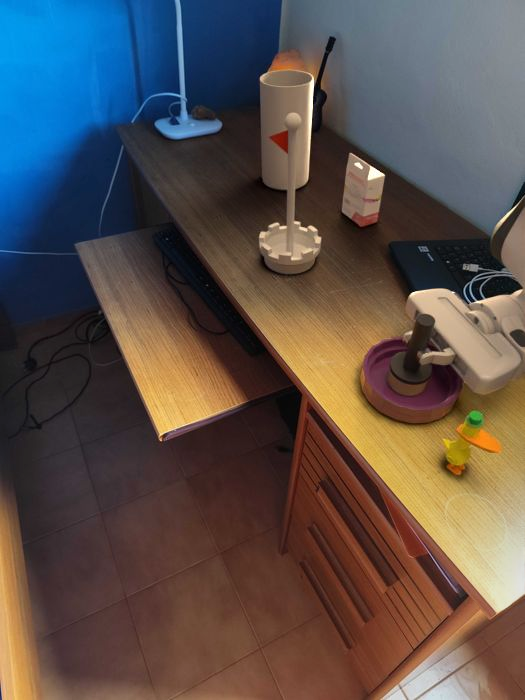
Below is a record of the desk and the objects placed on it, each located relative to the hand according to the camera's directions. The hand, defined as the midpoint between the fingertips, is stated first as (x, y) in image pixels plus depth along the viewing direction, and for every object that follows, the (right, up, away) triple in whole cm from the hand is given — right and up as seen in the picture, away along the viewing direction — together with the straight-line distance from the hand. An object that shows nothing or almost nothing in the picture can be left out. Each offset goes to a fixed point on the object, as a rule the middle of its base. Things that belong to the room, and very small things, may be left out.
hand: (411, 349), depth 70 cm
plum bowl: (+1, -6, +6) cm, 9 cm away
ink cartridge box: (+1, +32, +43) cm, 53 cm away
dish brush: (+1, -5, +6) cm, 8 cm away
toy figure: (+5, -17, -4) cm, 18 cm away
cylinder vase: (-16, +46, +56) cm, 74 cm away
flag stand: (-17, +20, +32) cm, 41 cm away
